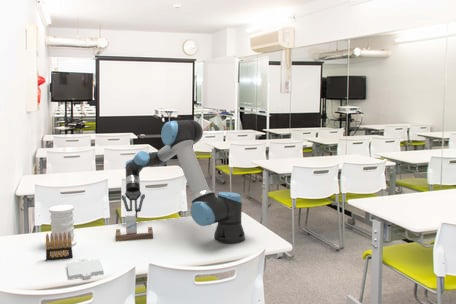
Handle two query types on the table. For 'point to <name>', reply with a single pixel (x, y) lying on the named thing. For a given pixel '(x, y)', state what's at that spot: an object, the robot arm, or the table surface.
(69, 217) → the decorative container
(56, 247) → the ammunition clip
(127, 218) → the ink box
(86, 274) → the mounting plate
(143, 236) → the walnut bay
